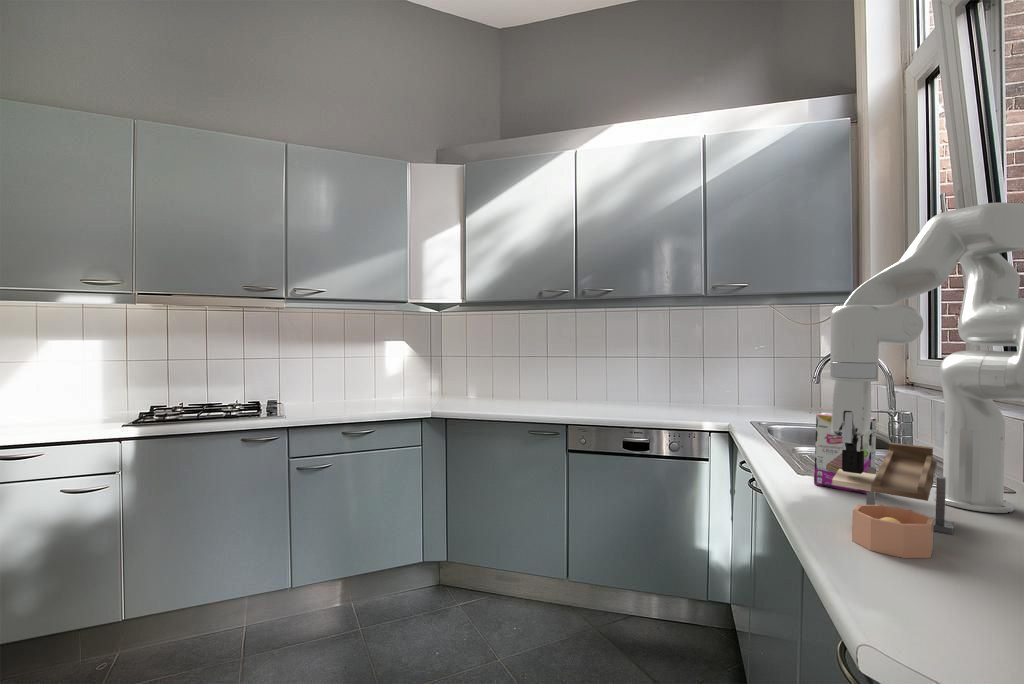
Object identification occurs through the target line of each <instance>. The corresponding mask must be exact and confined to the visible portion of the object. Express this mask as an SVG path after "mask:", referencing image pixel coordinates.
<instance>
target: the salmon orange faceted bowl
mask: <svg viewBox="0 0 1024 684" xmlns="http://www.w3.org/2000/svg"><path fill="white" fill-rule="evenodd" d="M884 517H890V518H894V519H896V520H898V521H899V522H900V523H896V522H891V521H886V520H881V518H884ZM933 518H934V517H930V516H927V515H925V514H921V513H920V512H917V511H915V510H912V509H907V508H900V507H894V506H888V505H885V504H875V505H866V504H857V505H856V506H855V507H854V508H853V509H852V526H851V528H852V529H851V531H852V532H851V541H852V542H854V543H855V544H858V545H860V546H861V547H863V548H865V549H867V550H869V551H870V552H874V553H876V552H877V553H880V554H883V555H889V556H893V557H898V558H902V559H931V557H932V554H933V550H934V531H933V520H934V519H933Z"/></svg>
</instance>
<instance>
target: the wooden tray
mask: <svg viewBox="0 0 1024 684" xmlns="http://www.w3.org/2000/svg"><path fill="white" fill-rule="evenodd" d="M933 453H934V448H933V447H932V446H924V445H923V446H922V445H915V444H906V443H899V442H898V443H897V442H889V444H888V452H887V453H885V455H884V458H883V460H882V462H881V464H880V466H879V468H878V470H877V471H876V474H871V473H864V472H863V473H861V474H857V473H850V472H844V471H843V470H842V469H839V470H838V471H837V473H836V474H835V476H834V478H833V479H832V485H836V486H842V487H848V488H854V489H860V490H866V491H872V492H876V493H879V494H884V495H890V496H896V497H901V498H909V499H915V500H919V501H926V502H929V498H930V494H931V491H932V489H933V486H934V485H933V484H934V478H935V475H936V470H937V465H938V460H936V459H934V458H933V457H934V456H933V455H934V454H933Z"/></svg>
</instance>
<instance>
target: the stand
mask: <svg viewBox="0 0 1024 684" xmlns="http://www.w3.org/2000/svg"><path fill="white" fill-rule="evenodd" d="M867 473H871V474H877V467H876V466H875V467H868V468H867ZM935 486H936V490H935V492H936V500H935V518H934V517H932V518H933V519H934V520H933V532H938V533H943V534H948V535H953V533H954V528H955V522H954V521H952V520H946V504H945V493H946V477H943V476H937V477H936V485H935ZM876 493H877V492H872V491H867V494H866V504H865V505H876Z"/></svg>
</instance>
